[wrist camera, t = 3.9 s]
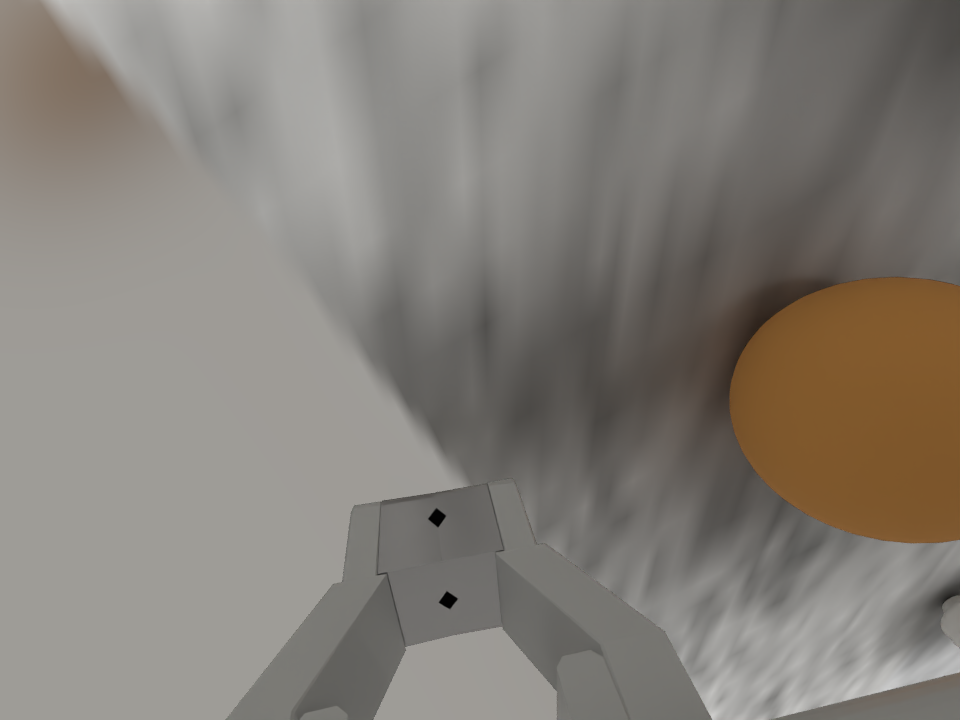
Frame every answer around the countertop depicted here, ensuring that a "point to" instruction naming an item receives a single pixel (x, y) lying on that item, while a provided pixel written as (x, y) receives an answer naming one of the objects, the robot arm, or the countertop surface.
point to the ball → (859, 407)
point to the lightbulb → (952, 619)
